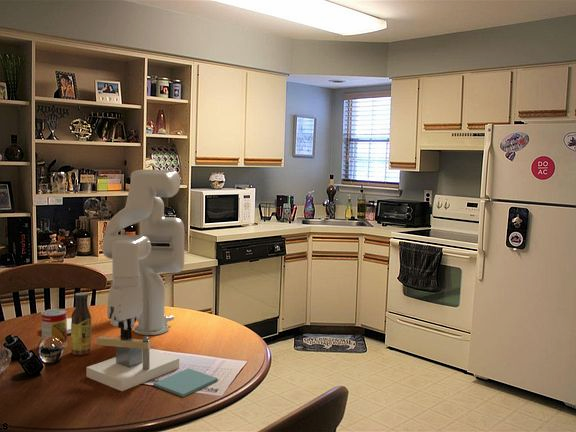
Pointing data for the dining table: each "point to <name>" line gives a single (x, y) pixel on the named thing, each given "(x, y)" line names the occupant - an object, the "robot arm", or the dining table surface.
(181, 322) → the dining table surface
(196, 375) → the mat
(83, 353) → the sauce bottle
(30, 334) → the dining table surface
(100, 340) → the lever
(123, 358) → the grey stone cube
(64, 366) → the dining table surface
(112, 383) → the white slab
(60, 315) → the canned food
